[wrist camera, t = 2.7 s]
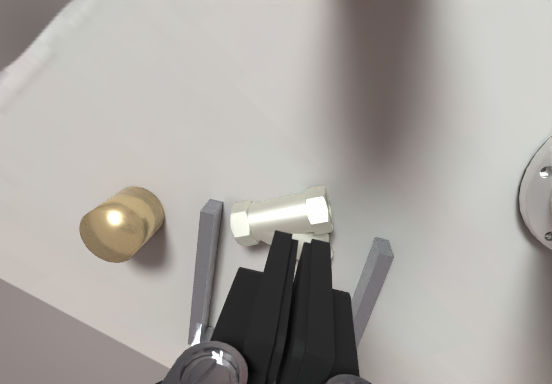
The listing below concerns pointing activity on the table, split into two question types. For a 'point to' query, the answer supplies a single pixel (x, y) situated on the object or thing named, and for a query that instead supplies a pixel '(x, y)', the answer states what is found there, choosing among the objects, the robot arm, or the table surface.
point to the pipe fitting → (284, 218)
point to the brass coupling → (122, 224)
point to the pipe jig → (205, 268)
